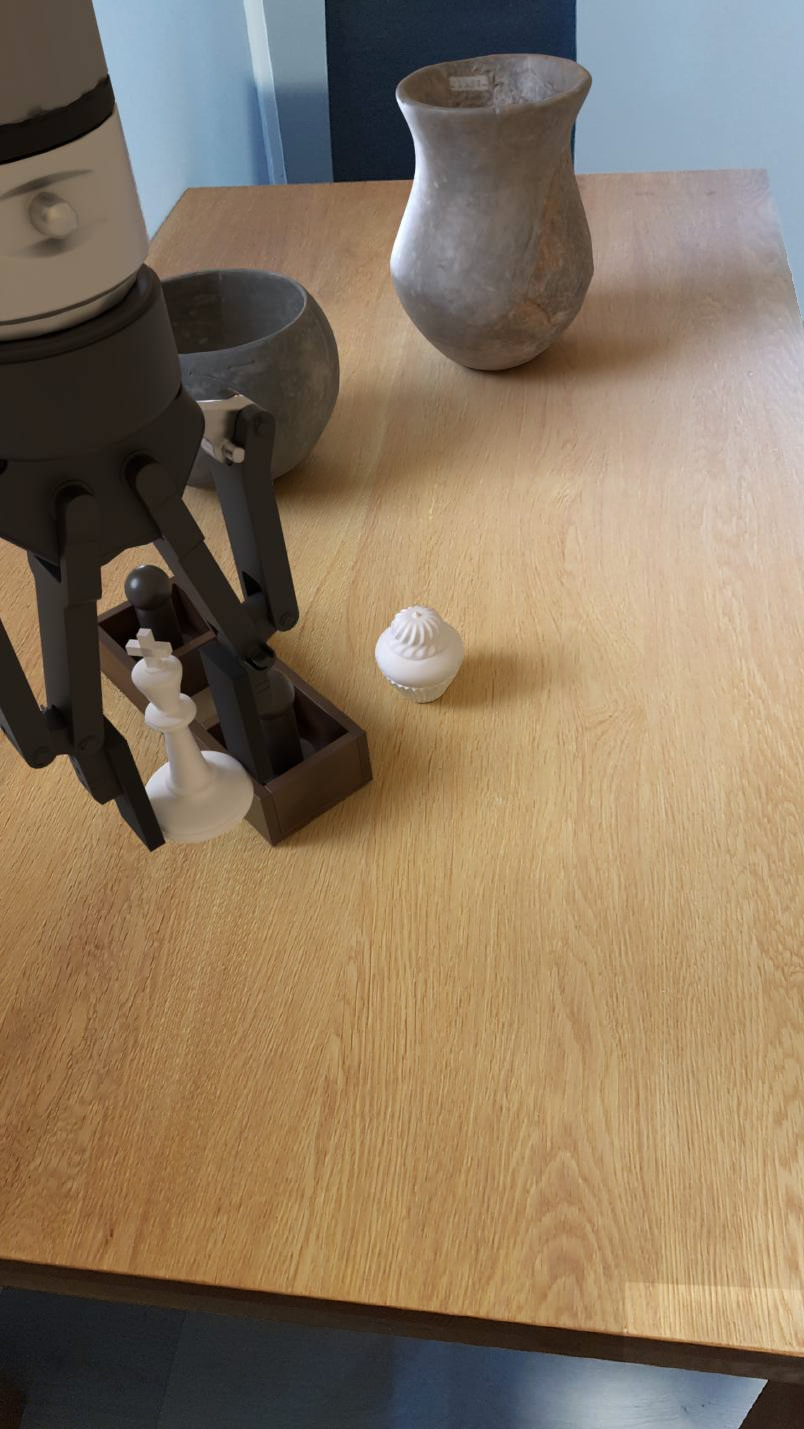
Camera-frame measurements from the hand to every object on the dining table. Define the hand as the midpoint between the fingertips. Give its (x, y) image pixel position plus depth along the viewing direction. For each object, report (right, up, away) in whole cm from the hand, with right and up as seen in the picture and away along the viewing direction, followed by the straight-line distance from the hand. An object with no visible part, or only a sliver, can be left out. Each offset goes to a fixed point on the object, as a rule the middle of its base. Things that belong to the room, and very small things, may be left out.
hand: (197, 795), depth 48 cm
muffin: (+11, +5, +28) cm, 30 cm away
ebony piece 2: (+2, 0, +22) cm, 22 cm away
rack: (-3, +3, +27) cm, 27 cm away
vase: (+19, +40, +61) cm, 76 cm away
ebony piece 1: (-8, +7, +31) cm, 33 cm away
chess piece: (0, 0, 0) cm, 1 cm away
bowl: (-6, +26, +50) cm, 57 cm away
